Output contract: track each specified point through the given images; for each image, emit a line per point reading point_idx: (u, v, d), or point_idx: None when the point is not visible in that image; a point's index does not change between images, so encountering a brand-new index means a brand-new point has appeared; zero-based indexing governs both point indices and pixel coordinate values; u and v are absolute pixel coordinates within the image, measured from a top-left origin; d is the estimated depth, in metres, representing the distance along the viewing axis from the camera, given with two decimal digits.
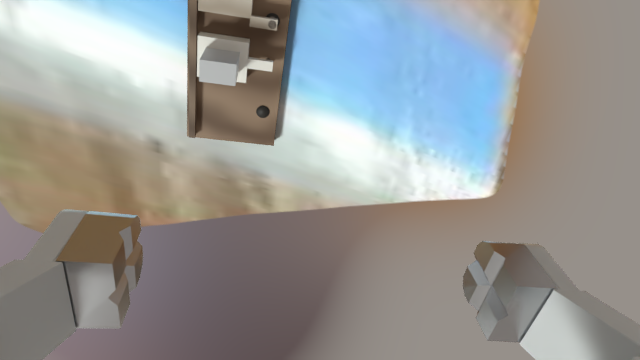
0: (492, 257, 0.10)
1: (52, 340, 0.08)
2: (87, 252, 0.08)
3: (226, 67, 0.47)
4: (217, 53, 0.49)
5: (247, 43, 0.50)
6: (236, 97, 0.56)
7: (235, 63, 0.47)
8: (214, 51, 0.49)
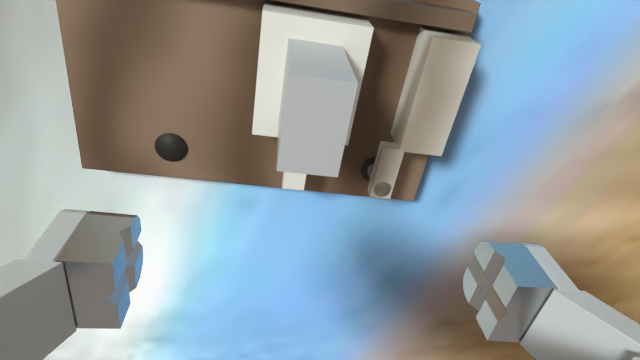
0: (492, 257, 0.10)
1: (53, 340, 0.08)
2: (87, 252, 0.08)
3: (331, 152, 0.16)
4: None
5: (346, 141, 0.22)
6: (200, 89, 0.22)
7: None
8: None
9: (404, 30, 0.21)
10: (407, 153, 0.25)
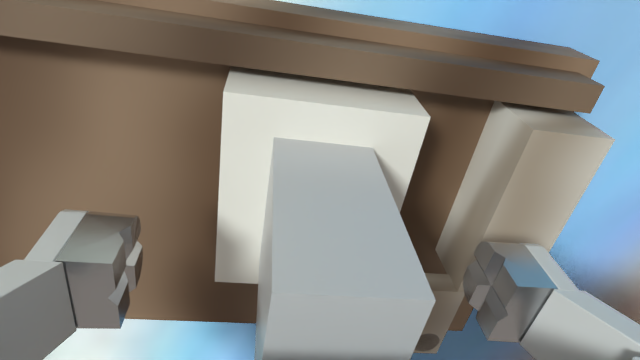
0: (492, 257, 0.10)
1: (53, 340, 0.08)
2: (87, 252, 0.08)
3: None
4: None
5: None
6: (130, 200, 0.13)
7: None
8: None
9: (469, 105, 0.13)
10: None
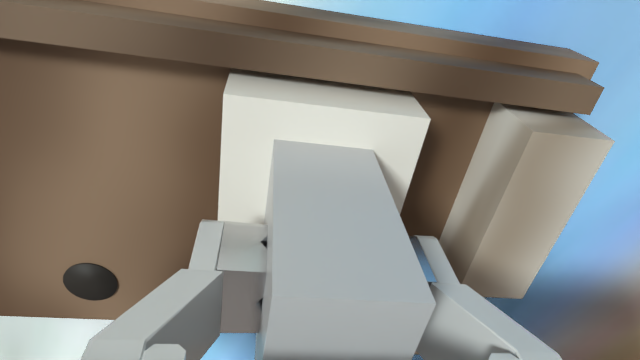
0: None
1: (206, 344, 0.08)
2: (241, 261, 0.08)
3: None
4: None
5: None
6: (130, 201, 0.13)
7: None
8: None
9: (469, 106, 0.13)
10: None
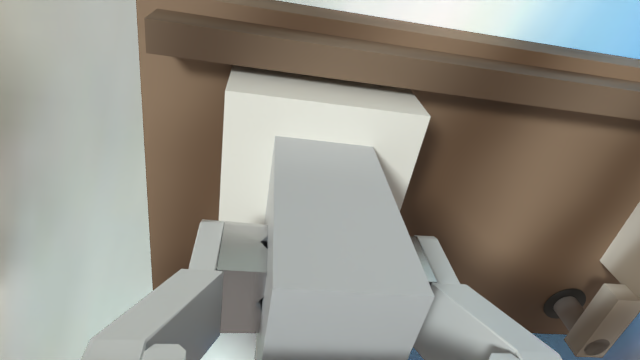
0: None
1: (206, 344, 0.08)
2: (241, 261, 0.08)
3: None
4: None
5: None
6: None
7: None
8: None
9: None
10: (613, 283, 0.18)
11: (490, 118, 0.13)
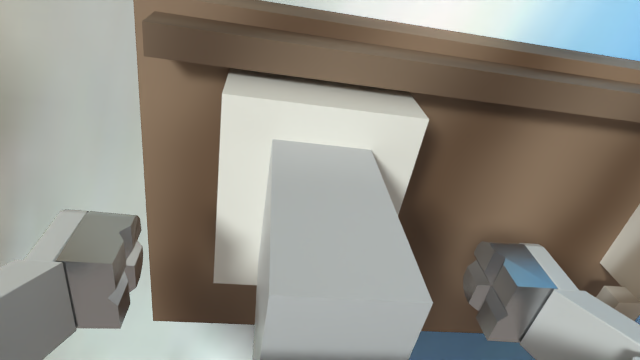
0: (492, 257, 0.10)
1: (53, 340, 0.08)
2: (87, 252, 0.08)
3: None
4: None
5: None
6: None
7: None
8: None
9: None
10: (613, 285, 0.18)
11: (490, 121, 0.13)
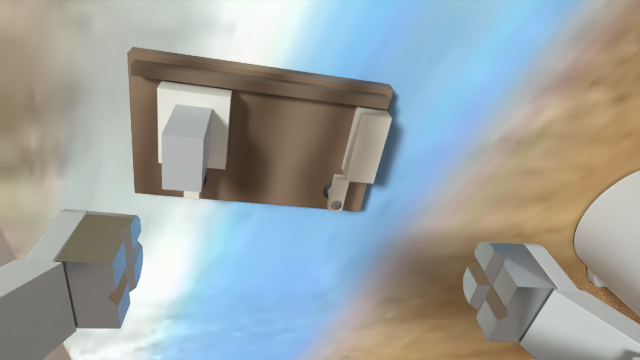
0: (492, 257, 0.10)
1: (53, 340, 0.08)
2: (87, 252, 0.08)
3: (194, 178, 0.27)
4: (208, 138, 0.29)
5: (224, 166, 0.33)
6: None
7: (201, 187, 0.28)
8: (209, 129, 0.30)
9: (347, 106, 0.34)
10: None
11: (270, 100, 0.33)
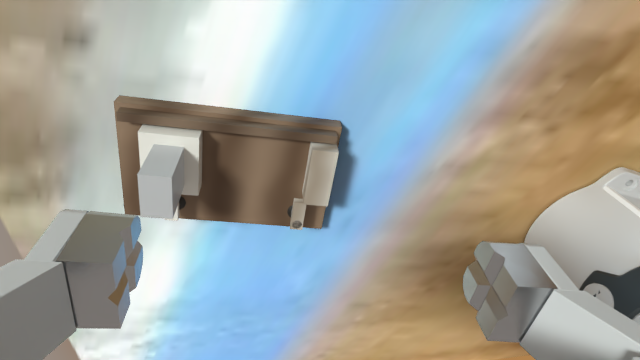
0: (492, 257, 0.10)
1: (53, 340, 0.08)
2: (87, 252, 0.08)
3: (166, 207, 0.33)
4: (180, 173, 0.35)
5: (197, 193, 0.39)
6: None
7: (173, 214, 0.34)
8: (181, 165, 0.36)
9: (302, 141, 0.39)
10: None
11: (235, 137, 0.39)
